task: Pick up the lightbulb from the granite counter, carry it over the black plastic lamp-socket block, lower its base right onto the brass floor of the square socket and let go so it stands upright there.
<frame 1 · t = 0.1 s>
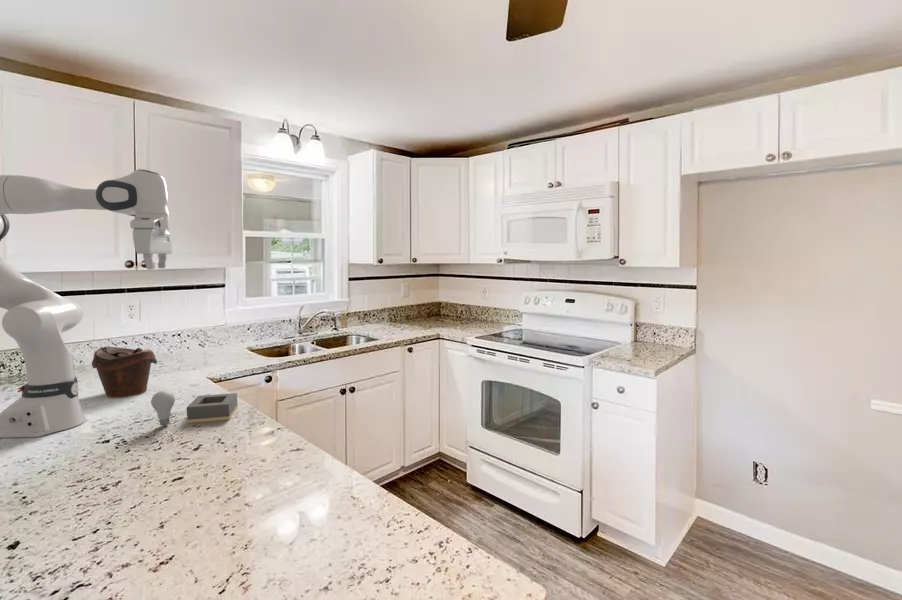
hand: (156, 268, 144), 48 cm above the worktop, tool pointing down, fingers open, 8 cm apart
lightbulb: (165, 426, 140), on the worktop
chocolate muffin: (127, 393, 175), on the worktop
socket block: (213, 414, 150), on the worktop
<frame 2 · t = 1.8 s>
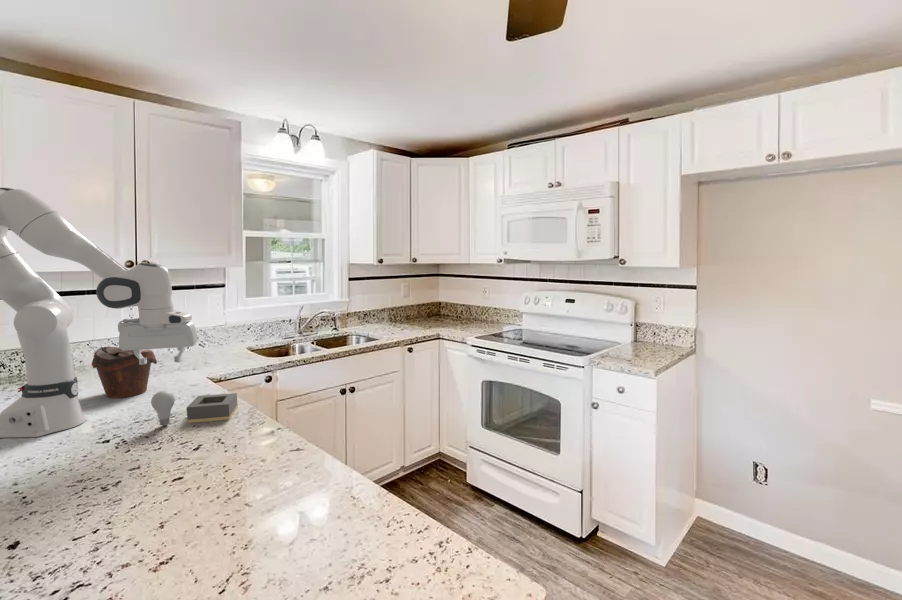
hand: (160, 362, 139), 20 cm above the worktop, tool pointing down, fingers open, 8 cm apart
nothing on the worktop moved.
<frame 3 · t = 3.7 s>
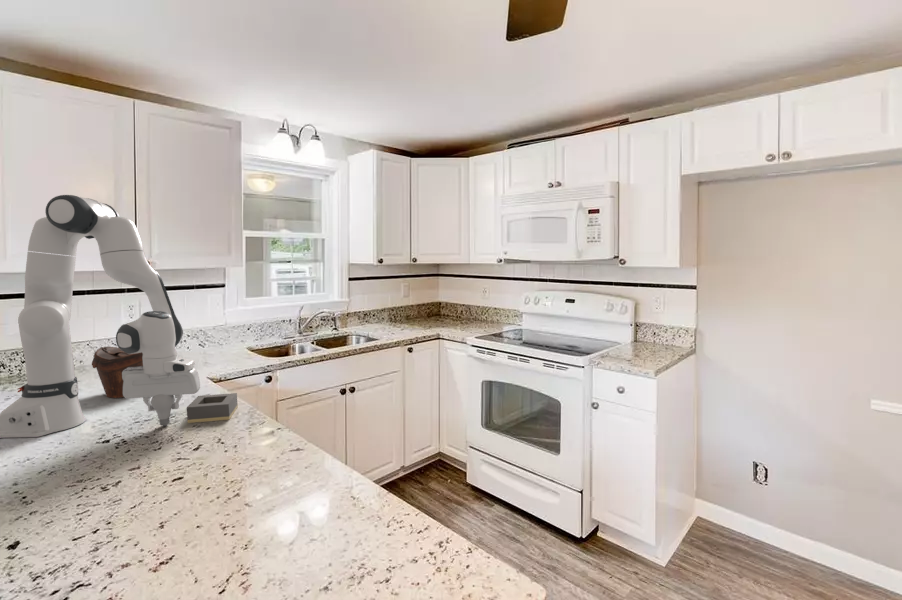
hand: (163, 409, 140), 5 cm above the worktop, tool pointing down, fingers closed on lightbulb, 5 cm apart
lightbulb: (165, 426, 140), on the worktop, touching gripper
everything else where it was.
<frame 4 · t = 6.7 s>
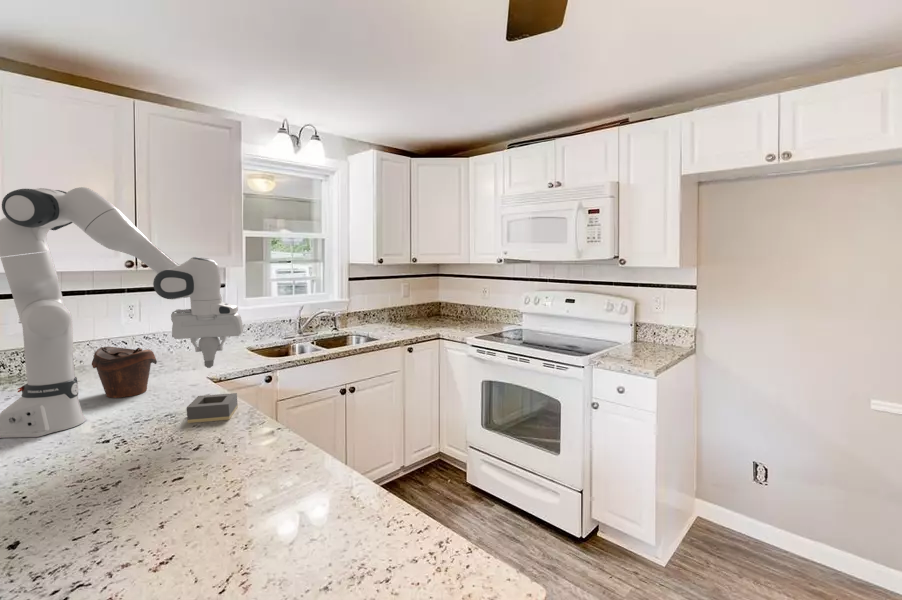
hand: (209, 351, 148), 21 cm above the worktop, tool pointing down, fingers closed on lightbulb, 5 cm apart
lightbulb: (208, 368, 148), point 15 cm above the worktop, touching gripper
everything else where it was.
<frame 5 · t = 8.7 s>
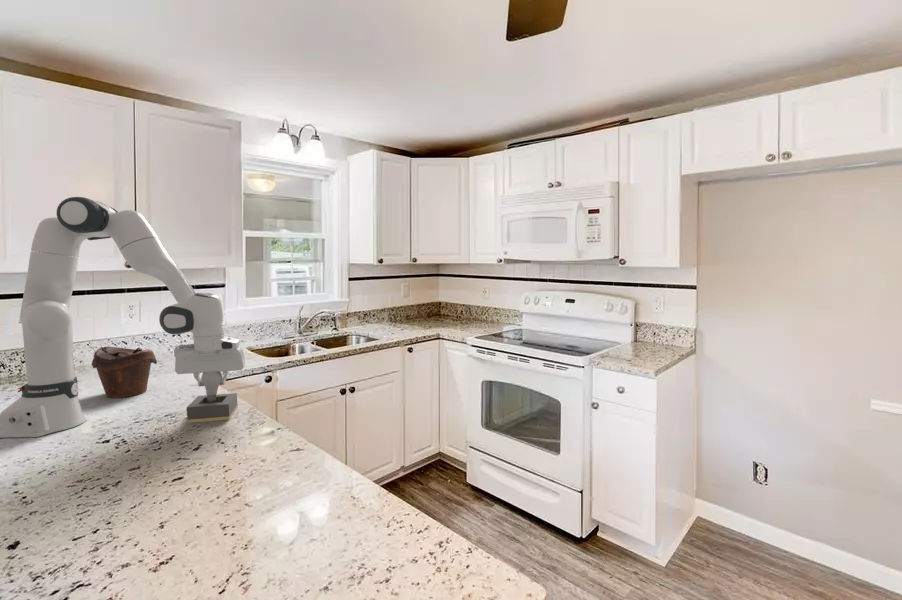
hand: (212, 385, 149), 10 cm above the worktop, tool pointing down, fingers closed on lightbulb, 5 cm apart
lightbulb: (211, 402, 150), point 4 cm above the worktop, touching gripper
everything else where it was.
when the fingers open (6 cm above the worktop, at t = 10.1 s): lightbulb stays where it is, resting on socket block.
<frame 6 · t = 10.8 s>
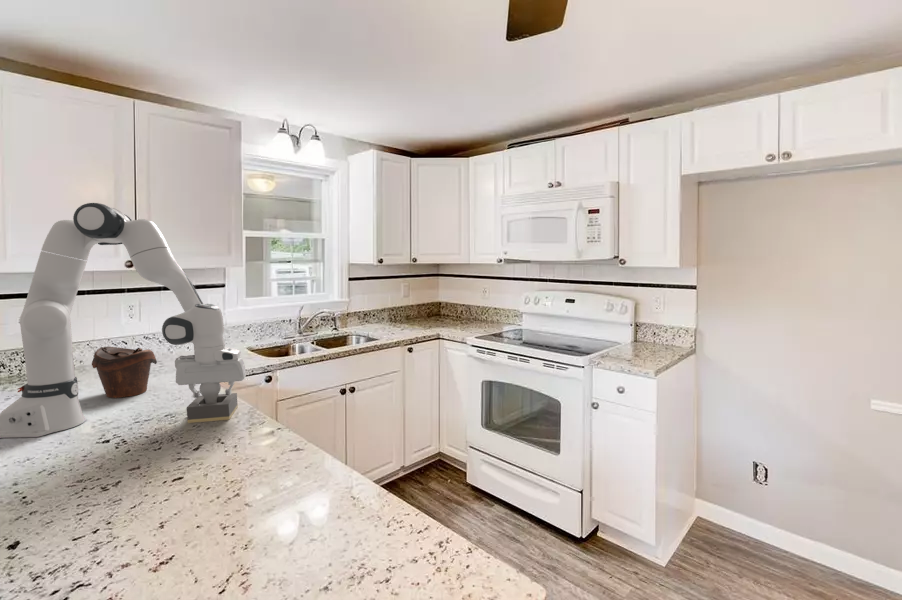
hand: (212, 395, 149), 6 cm above the worktop, tool pointing down, fingers open, 8 cm apart
lightbulb: (212, 412, 150), point 1 cm above the worktop, touching socket block
everything else where it was.
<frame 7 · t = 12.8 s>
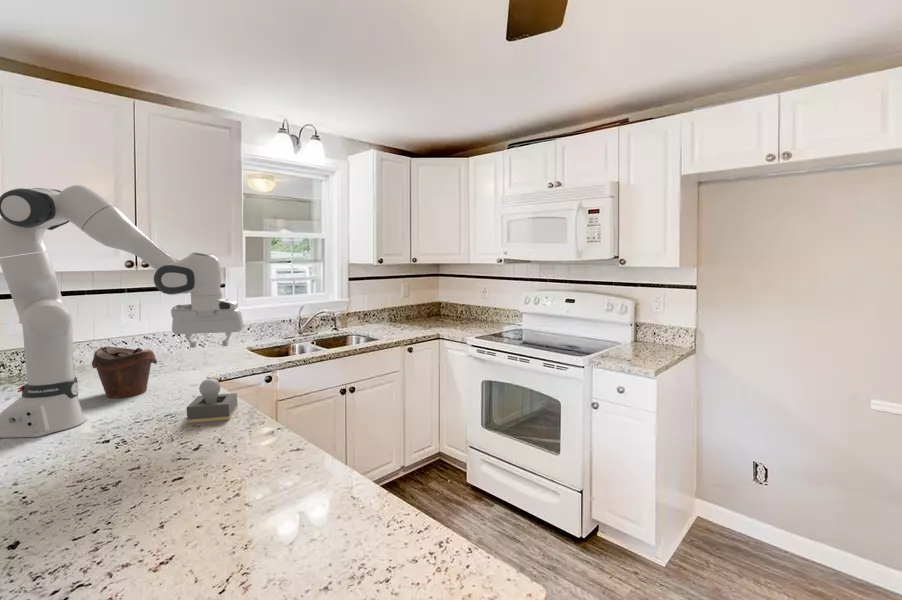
hand: (209, 346, 148), 23 cm above the worktop, tool pointing down, fingers open, 8 cm apart
nothing on the worktop moved.
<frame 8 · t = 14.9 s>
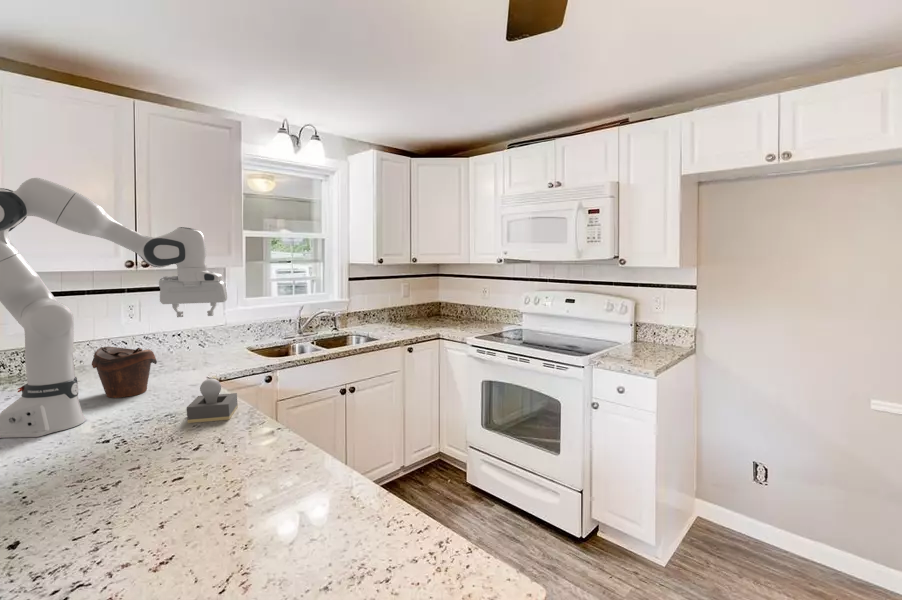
hand: (195, 316, 157), 31 cm above the worktop, tool pointing down, fingers open, 8 cm apart
nothing on the worktop moved.
at the end: lightbulb 0.5 cm off-centre on the socket block, point 0.8 cm above the socket block's base; lightbulb tilted 1°; the gripper is holding nothing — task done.
